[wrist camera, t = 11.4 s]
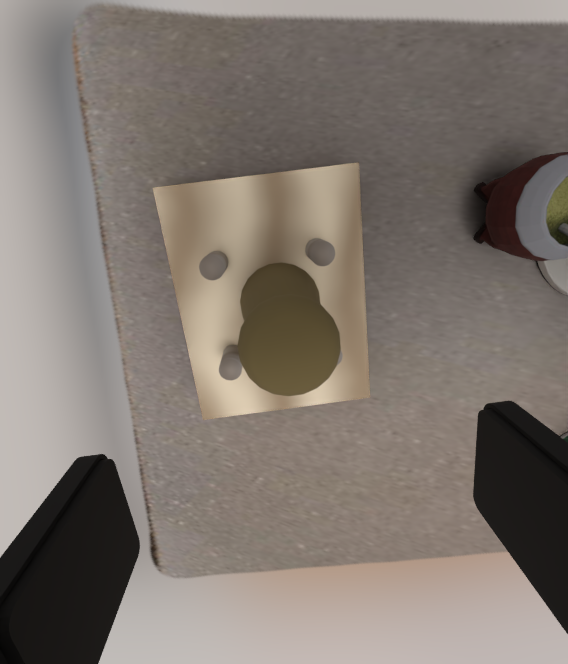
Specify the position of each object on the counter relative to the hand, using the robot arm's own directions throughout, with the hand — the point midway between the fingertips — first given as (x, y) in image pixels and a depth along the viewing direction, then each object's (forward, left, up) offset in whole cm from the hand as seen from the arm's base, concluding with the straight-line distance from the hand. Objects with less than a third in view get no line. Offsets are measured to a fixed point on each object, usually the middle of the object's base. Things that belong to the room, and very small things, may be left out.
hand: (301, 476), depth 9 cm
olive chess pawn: (0, 0, -19) cm, 19 cm away
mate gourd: (-20, -4, -23) cm, 31 cm away
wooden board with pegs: (0, 0, -23) cm, 23 cm away
